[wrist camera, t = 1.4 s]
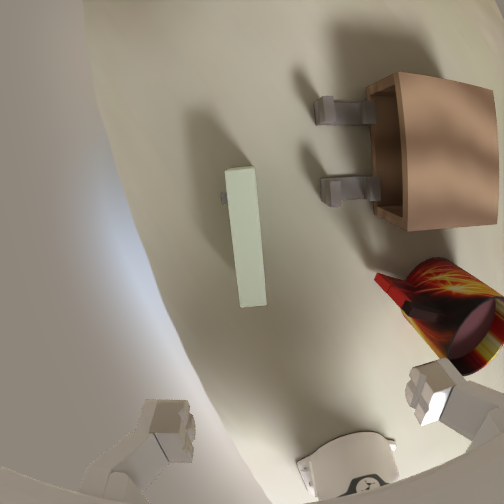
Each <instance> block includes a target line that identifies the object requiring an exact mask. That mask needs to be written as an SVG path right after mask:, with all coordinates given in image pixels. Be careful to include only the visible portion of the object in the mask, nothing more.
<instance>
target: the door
mask: <svg viewBox="0 0 504 504" xmlns="http://www.w3.org/2000/svg"><path fill="white" fill-rule="evenodd" d="M225 180H226V190H227V193H221V202H222V204H228V208H229V217H230V226H231V235H232V243H233V252H234V261H235V269H236V277H237V286H238V294H239V302H240V308H243V307H254V306H265V305H267V300H266V289H265V277H264V265H263V254H262V242H261V231H260V220H259V209H258V198H257V187H256V177H255V168H254V166H246V167H236V168H229V169H227V170H226V171H225Z"/></svg>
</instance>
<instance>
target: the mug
mask: <svg viewBox="0 0 504 504" xmlns="http://www.w3.org/2000/svg"><path fill="white" fill-rule="evenodd" d="M374 280H375V281H376V283H377V284H378V285H379V286H380V287H381V288H382V289H383V290H384V291H385V292H386V293H387V294H388V295H389V296H390V297H391V298H392V299H393V300H394V301H395V303H396V304H397V305H398V306H399V307H400V308H401V311H402V313H403V315H404V317H405V318H406V319H407V320H408V321H409V323H410V324H411V325H412V326H413V327H414V328H415V330H416V331H417V332H418V333H419V334H420V335H421V337H422V338H423V339H424V340H425V341H426V343H427V344H428V345H429V346H430V347H431V349H432V350H433V351H434V352H435V353H436V355H437V356H438V357H439V358H440V359H442V358H447V359H448V360H449V361H450V362H451V363H452V364H453V365H454V367H455V368H456V369H457V370H458V371H459V373H460V374H461V375H462V376H467V375H470V374H473V373H475V372H477V371H479V370H480V369H482V368H483V367H484V366H486V365H487V364H488V363H489V362H490V361H491V360H492V359H493V358H494V357H495V356H496V354H497V353H498V352H499V350H500V349H501V347H502V346H503V344H504V296H502V295H501V294H499V293H498V292H496V291H495V290H493V289H492V288H490V287H489V286H488V285H486V284H485V283H483V282H482V281H480V280H478V279H477V278H475V277H474V276H472V275H471V274H469V273H468V272H466V271H465V270H463V269H462V268H460V267H458V266H457V265H455V264H454V263H452V262H450V261H449V260H447V259H445V258H440V257H437V258H431V259H428V260H426V261H424V262H422V263H421V264H419V265H418V266H417V267H416V268H415V269H414V270H413V271H412V272H411V273H410V275H409V276H408V278H407V279H406V281H403V280H400V279H396V278H393V277H390V276H386V275H383V274H381V273H378V272H377V274H376V276H375V278H374Z"/></svg>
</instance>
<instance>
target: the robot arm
mask: <svg viewBox="0 0 504 504" xmlns="http://www.w3.org/2000/svg"><path fill="white" fill-rule="evenodd" d="M409 376H410V378H411V380H410V381H409V382H408V383H407V385H406V389H405V394H406V399H407V402H408V404H409V406H410V407H412V408H414V409H415V413H414V415H415V416H416V418H417V420H418V422H419V423H420V425H421V426H422V425H425V424H428V423H431V422H434V421H437V420H439V421H440V422H442V423H444V424H445V425H447V426H448V427H450V428H452V429H453V430H455V431H456V432H458V433H460V434H461V435H463V436H464V437H466V438H468V439H469V440H471V441H472V442H471V444H470V445H469V447H468V448H467V450H466V453H465V454H463V455H461V456H458V457H456V458H454V459H452V460H450V461H448V462H445V463H443V464H441V465H439V466H436V467H434V468H431V469H429V470H426V471H424V472H421V473H419V474H416V475H413V476H411V477H408V478H405V479H402V480H399V481H397V479H398V478H399V472H398V469H397V466H396V462H395V459H394V456H393V452H394V450H395V449H396V447H397V445H396V442H395V441H392V440H387V439H385V438H384V437H383V436H382V435H380V434H378V433H374V432H359V433H353V434H349V435H346V436H342V437H340V438H337V439H335V440H332V441H330V442H328V443H327V444H325V445H323V446H322V447H320V448H319V449H318V450H317V451H316V452H314V453H313V454H312V455H310V456H308V457H306V458H304V459H302V460H300V461H298V462H297V465H298V469H299V471H300V473H301V476H302V478H303V480H304V483H305V485H306V487H307V490H308V492H309V494H310V495H315V497H318V499H319V501H317V502H311V503H305V504H504V394H503V393H501V392H498V391H496V390H493V389H490V388H488V387H485V386H482V385H480V384H477V383H475V382H472V381H470V380H469V381H466V380H465V379H464V378H463V376H462V375H461V374H460V373H459V371H458V370H457V369H456V368H455V367H454V365H453V364H452V363H451V362H450V361H449V360H448V359H447V358H442V359H439V360H436V361H432V362H429V363H426V364H423V365H419V366H416V367H413V368H412V369H411V371H410V374H409ZM189 410H190V406H189V403H188V401H187V400H149V399H147V400H145V401H144V403H143V407H142V410H141V413H140V416H139V419H138V423H137V426H136V429H135V432H130V433H129V434H128V435H126V436H125V437H124V438H123V439H121V440H120V441H119V442H118V443H116V444H115V445H114V446H113V447H111V448H110V449H109V450H107V451H106V452H105V453H104V454H102V455H101V456H100V457H98V458H97V459H96V460H95V461H93V462H92V463H91V464H89V465H88V466H87V469H86V471H85V474H84V477H83V480H82V483H81V486H80V488H79V492H74V491H70V490H67V489H63V488H60V487H57V486H54V485H51V484H48V483H44V482H42V481H38V480H36V479H33V478H31V477H28V476H25V475H23V474H20V473H18V472H15V471H13V470H11V469H8V468H6V467H1V466H0V504H151V503H150V502H149V501H148V500H147V499H146V497H145V496H144V495H143V493H144V492H145V491H146V490H147V489H148V488H149V487H150V485H151V484H152V483H153V482H154V481H155V480H156V478H157V477H158V476H159V475H160V474H161V473H162V472H163V470H164V469H165V468H166V467H167V466H168V465H169V462H170V463H192V460H193V452H194V447H193V445H192V441H193V440H194V439H195V433H196V432H195V421H194V418H193V415H192V414H190V413H189Z"/></svg>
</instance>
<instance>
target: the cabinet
mask: <svg viewBox="0 0 504 504" xmlns="http://www.w3.org/2000/svg"><path fill="white" fill-rule="evenodd" d="M366 95H367V101H366V100H364V101H361V102H359V103H343V102H334V98H333V96H322V97H321V98H320V99H318V100H317V101H316V102H314V111H315V120H316V125H370V135H371V148H372V165H373V176H360V177H336V178H320V183H321V201H322V202H324V203H325V204H327V205H329V206H330V207H342V206H341V200H353V199H366V200H369V201H374V214H375V215H377V216H379V217H381V218H383V219H385V220H387V221H388V222H390V223H392V224H394V225H396V226H398V227H400V228H402V229H404V230H405V231H407V232H408V231H420V230H432V229H444V228H456V227H468V226H480V225H493V224H497V217H498V200H499V148H498V132H497V120H496V111H495V102H494V95H493V91H492V90H489V89H485V88H482V87H478V86H474V85H470V84H465V83H461V82H457V81H452V80H447V79H442V78H437V77H431V76H426V75H419V74H413V73H406V72H396V73H394V74H392V75H390V76H388V77H386V78H384V79H382V80H380V81H378V82H376V83H374V84H372V85H370V86H368V87H367V88H366Z"/></svg>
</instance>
